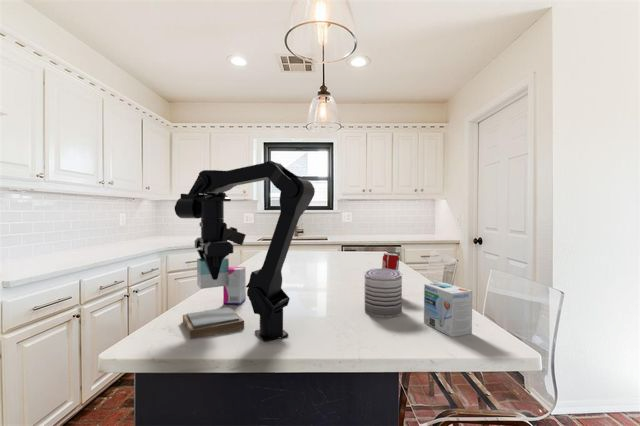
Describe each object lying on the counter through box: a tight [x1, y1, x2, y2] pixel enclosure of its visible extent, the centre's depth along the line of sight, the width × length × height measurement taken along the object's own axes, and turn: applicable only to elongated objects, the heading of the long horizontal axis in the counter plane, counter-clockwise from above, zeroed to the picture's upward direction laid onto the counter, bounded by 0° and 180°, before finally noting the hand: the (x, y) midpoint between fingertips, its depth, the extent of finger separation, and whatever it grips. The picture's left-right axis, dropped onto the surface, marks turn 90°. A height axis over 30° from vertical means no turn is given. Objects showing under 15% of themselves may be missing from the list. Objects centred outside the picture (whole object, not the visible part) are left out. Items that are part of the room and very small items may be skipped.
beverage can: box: [381, 252, 400, 271], centre depth 114 cm, size 6×6×15 cm
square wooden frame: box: [182, 306, 245, 340], centre depth 85 cm, size 13×13×2 cm
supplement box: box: [222, 266, 247, 306], centre depth 106 cm, size 6×6×12 cm
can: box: [363, 267, 403, 318], centre depth 97 cm, size 11×11×12 cm
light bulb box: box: [423, 281, 473, 338], centre depth 83 cm, size 11×7×11 cm, turn 21°
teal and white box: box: [196, 257, 230, 290], centre depth 85 cm, size 7×5×7 cm
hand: (212, 277), depth 85 cm, fingers closed on teal and white box, 5 cm apart
